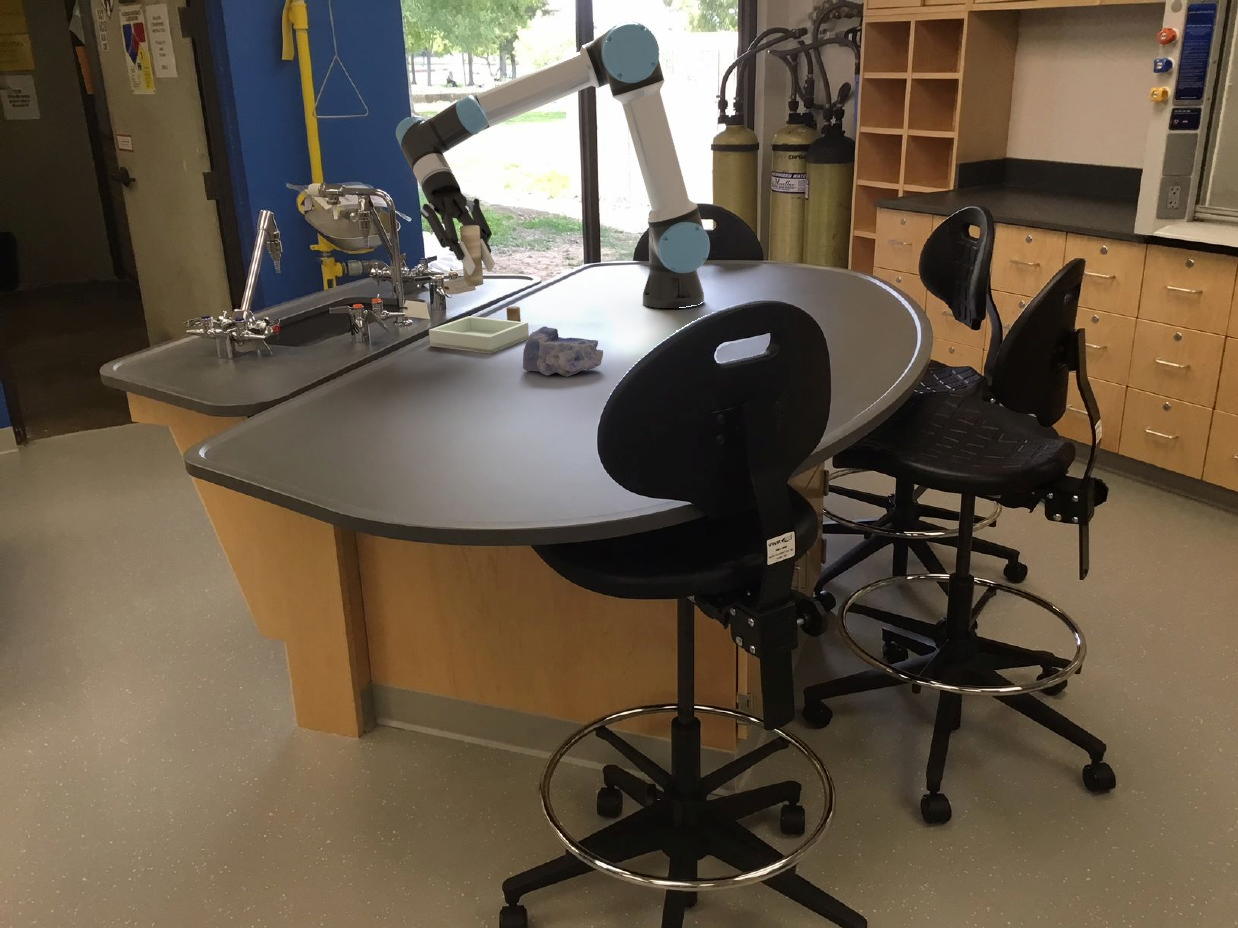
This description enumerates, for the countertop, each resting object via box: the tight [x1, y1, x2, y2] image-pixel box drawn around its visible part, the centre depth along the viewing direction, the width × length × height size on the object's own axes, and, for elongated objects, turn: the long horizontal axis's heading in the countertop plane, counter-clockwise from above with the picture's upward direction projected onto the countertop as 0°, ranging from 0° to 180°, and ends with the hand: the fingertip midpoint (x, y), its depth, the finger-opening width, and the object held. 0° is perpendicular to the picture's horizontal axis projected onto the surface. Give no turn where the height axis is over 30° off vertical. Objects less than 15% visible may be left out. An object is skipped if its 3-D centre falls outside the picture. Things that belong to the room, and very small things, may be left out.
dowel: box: [459, 225, 484, 287], centre depth 212 cm, size 4×4×12 cm
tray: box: [428, 315, 530, 355], centre depth 218 cm, size 16×14×4 cm
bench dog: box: [505, 305, 522, 322], centre depth 227 cm, size 3×3×5 cm
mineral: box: [522, 326, 604, 377], centre depth 194 cm, size 14×10×10 cm
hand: (481, 269), depth 210 cm, fingers closed on dowel, 4 cm apart
